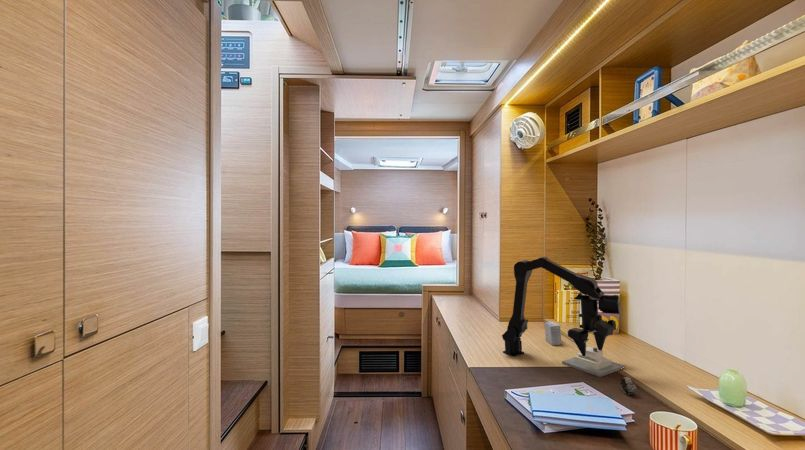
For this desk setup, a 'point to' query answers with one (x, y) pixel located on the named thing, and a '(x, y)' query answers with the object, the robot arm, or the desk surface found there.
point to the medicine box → (553, 333)
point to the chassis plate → (593, 366)
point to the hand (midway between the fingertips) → (592, 353)
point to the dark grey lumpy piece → (631, 387)
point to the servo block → (593, 355)
